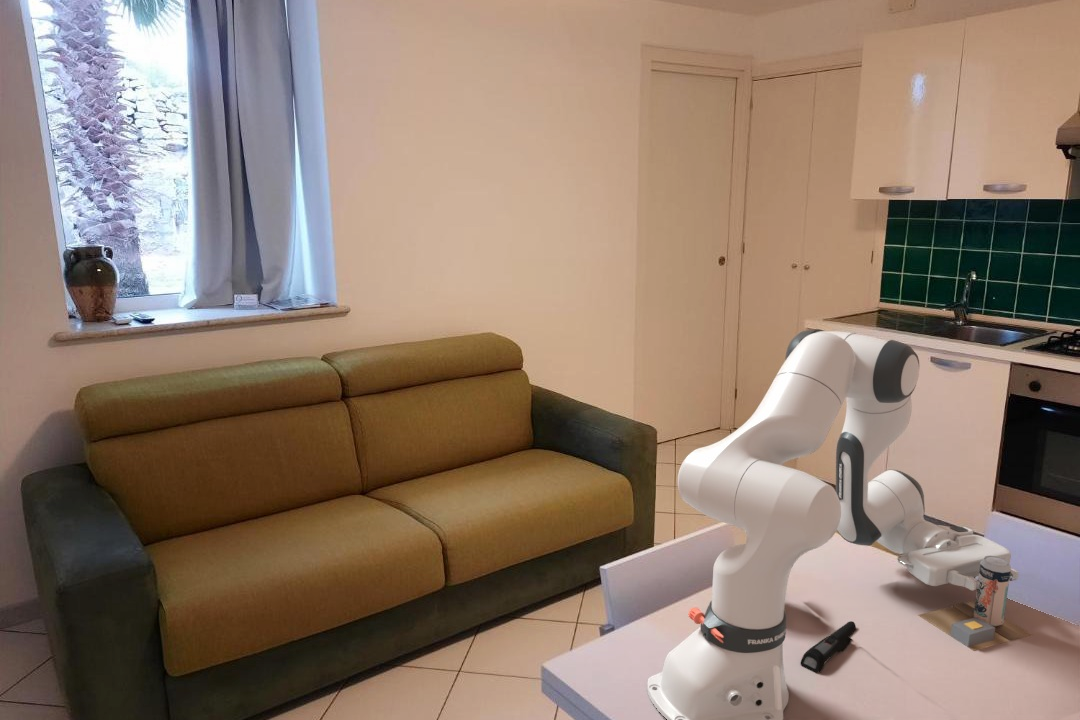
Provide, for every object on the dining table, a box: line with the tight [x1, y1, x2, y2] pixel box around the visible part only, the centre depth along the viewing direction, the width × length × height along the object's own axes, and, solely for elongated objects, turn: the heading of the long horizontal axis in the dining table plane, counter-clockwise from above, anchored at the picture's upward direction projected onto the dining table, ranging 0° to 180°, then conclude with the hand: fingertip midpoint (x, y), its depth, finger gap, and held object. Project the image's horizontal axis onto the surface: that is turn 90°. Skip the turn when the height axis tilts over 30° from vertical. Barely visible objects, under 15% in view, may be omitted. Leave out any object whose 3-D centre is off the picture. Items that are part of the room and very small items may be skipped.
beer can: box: [973, 556, 1012, 626], centre depth 137 cm, size 5×5×12 cm
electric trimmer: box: [800, 621, 857, 674], centre depth 132 cm, size 4×16×3 cm, turn 132°
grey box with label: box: [949, 617, 995, 648], centre depth 133 cm, size 6×4×3 cm, turn 110°
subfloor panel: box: [917, 600, 1033, 652], centre depth 137 cm, size 14×12×2 cm
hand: (996, 581), depth 135 cm, fingers open, 8 cm apart
